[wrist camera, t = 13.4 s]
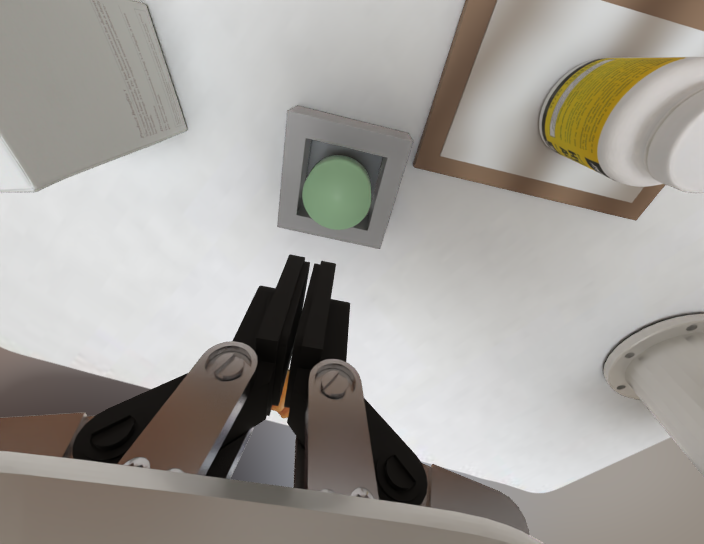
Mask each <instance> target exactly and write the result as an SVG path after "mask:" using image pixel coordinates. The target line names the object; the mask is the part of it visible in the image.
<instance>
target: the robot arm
mask: <svg viewBox="0 0 704 544" xmlns="http://www.w3.org/2000/svg"><path fill="white" fill-rule="evenodd" d="M309 266H310V262H305V257H300V256H295V255H289V257H288V260H287V262H286V265H285V267H284V270H283V272H282V274H281V277H280V279H279V282H278V284H277V287H276V288H270V287H265V286H259V288H258V290H257V292H256V294H255V296H254V298H253V300H252V302H251V304H250V306H249V308H248V310H247V312H246V314H245V316H244V318H243V321H242V323H241V325H240V327H239V329H238V331H237V333H236V335H235V337H234V339H233V341H232V342H223V343H220V344H217V345H215V346H213V347H211V348H210V349H208V350H207V351H206V352H205V353H204V354H203V355H202V356H201V358H200V359H199V360H198V362H197V363H196V364H195V365H194V367H193V368H192V369H191V370H190V372H189V373H187V374H185V375H183V376H180V377H178V378H176V379H174V380H171V381H169V382H167V383H165V384H162V385H160V386H158V387H156V388H153V389H151V390H149V391H147V392H145V393H142V394H140V395H138V396H135V397H133V398H131V399H129V400H127V401H124V402H122V403H120V404H117V405H115V406H113V407H111V408H108V409H106V410H105V411H103V412H101V413H99V414H97V415H96V416H87V415H86V413H85V412H83V413H67V414H51V415H36V416H22V417H4V418H0V544H544V543H543V542H541V541H539V540H537V539H536V538H534V537H532V536H530V535H529V529H528V526H527V523H526V520H525V517H524V516H523V514H522V512H521V511H520V509H519V507H518V506H517V505H516V504H515V503H514V502H513V501H512V500H511V499H510V497H508V496H506V495H505V494H503V493H502V492H500V491H498V490H495V489H493V488H490V487H488V486H485V485H483V484H481V483H478V482H476V481H473V480H471V479H468V478H466V477H463V476H461V475H459V474H456V473H454V472H451V471H449V470H447V469H444V468H442V467H439V466H437V465H434V464H432V466H431V467H430V466H427V465H425V464H423V463H421V462H420V460H419V459H418V457H417V456H416V455H415V454H414V452H413V451H412V450H411V449H410V448H409V447H408V446H407V445H406V444H405V443H404V441H403V440H402V439H401V438H400V437H399V436H398V435H397V434H396V433H395V432H394V430H393V429H392V428H391V427H390V426H389V425H388V424H387V423H386V422H385V420H384V419H383V418H382V417H381V416H380V415H379V414H378V413H377V412H376V411H375V409H374V408H373V407H372V406H371V405H370V404H369V403H368V402H367V401H366V400H365V398H364V396H363V390H362V383H361V379H360V376H359V374H358V372H357V371H356V370H355V368H354V367H352V366H351V365H350V364H349V363H347V362H346V356H347V342H348V327H349V312H350V303H348V302H343V301H338V300H333V299H331V293H332V286H333V280H334V273H335V267H336V264H335V263H330V262H325V261H321V264H314V268H313V272H312V275H311V279H310V283H309V287H308V291H307V295H306V299H305V302H304V297H305V291H306V285H307V279H308V273H309ZM303 303H304V306H303ZM302 309H303V310H302ZM291 356H292V358H291ZM290 360H291V364H290ZM289 364H290V371H289V377H288V384H287V390H286V396H285V403H284V407H286V408H290V409H289V415H288V421H287V423H288V425H289V426H290V427H291V429H292V430H293V432H294V433H295V434H296V440H295V463H294V487H293V488H290V487H283V486H276V485H268V484H261V483H254V482H246V481H239V480H231V479H230V478H231V476H232V474H233V472H234V470H235V468H236V465H237V463H238V461H239V459H240V457H241V455H242V453H243V451H244V448H245V446H246V444H247V442H248V440H249V438H250V436H251V433H252V430H253V427H254V426H256V425H257V424H259V423H260V422H262V421H263V420H265V419H266V416H267V415H268V416H269V415H270V411H271V408H272V405H274V406H279V403H280V399H281V395H282V391H283V387H284V383H285V379H286V376H287V372H288V368H289ZM603 372H604V377H605V379H606V381H607V383H608V384H609V385H610V386H611V388H612V389H613V390H614V391H615V392H617V393H619V394H620V395H623V396H625V397H628V398H633V399H639V400H642V402H643V403H644V404H645V405H646V407H647V408H648V409H649V410H650V412H651V413H652V414H653V415H654V416H655V418H656V419H657V420H658V421H659V423H660V424H661V425H662V426H663V428H664V429H665V430H666V431H667V432H668V434H669V435H670V436H671V437H672V439H673V440H674V441H675V442H676V444H677V445H678V446H679V447H680V448H681V450H682V451H683V452H684V453H685V455H686V456H687V457H688V458H689V460H690V461H691V462H692V463H693V465H694V466H695V467H696V468H697V469H698V471H699V472H700V473H701V474H702V475H703V477H704V314H694V315H685V316H680V317H675V318H671V319H668V320H665V321H661V322H658V323H656V324H654V325H651V326H649V327H646V328H644V329H642V330H641V331H639V332H637V333H635V334H633V335H632V336H630V337H629V338H627V339H626V340H624V341H623V342H622V343H621V344H620V345H618V346H617V347H616V348H615V349H614V350H613V352H612V353H611V354H610V355H609V357H608V359H607V361H606V363H605V365H604V370H603Z"/></svg>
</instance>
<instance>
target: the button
mask: <svg viewBox="0 0 704 544" xmlns="http://www.w3.org/2000/svg"><path fill="white" fill-rule="evenodd" d="M302 198H303V204H304V207H305V209H306V211H307V213H308V214H309V216H310V217H311V218H312V219H313V220H314V221H315V222H317V223H318V224H319V225H321V226H323V227H326V228H329V229H334V230H343V229H348V228H351V227H353V226H355V225H357V224H358V223H359V222H361V221H362V220H363V219H364V217H365V216H366V215H367V213H368V211H369V208H370V204H371V182H370V178H369V175H368V173H367V171H366V170H365V168H364V167H363V166H362V165H361V164H360V163H359V162H358V161H356V160H354V159H353V158H350V157H347V156H343V155H333V156H329V157H326V158H324V159H322V160H320V161H319V162H318V163H317V164H316V165H315V166H314V167H313V169H312V170H311V172H310V174H309V176H308V177H307V179H306V181H305V184H304V186H303V192H302Z"/></svg>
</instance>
